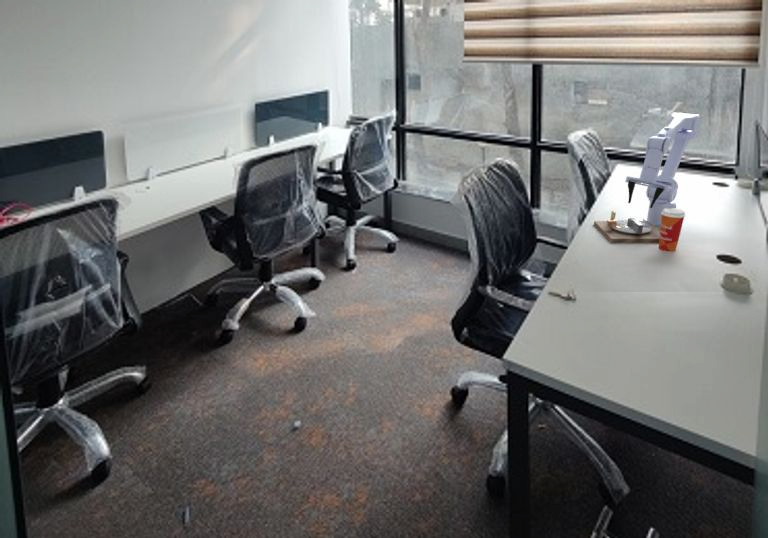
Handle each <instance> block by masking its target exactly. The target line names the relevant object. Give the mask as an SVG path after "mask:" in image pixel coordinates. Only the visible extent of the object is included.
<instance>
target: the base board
mask: <svg viewBox="0 0 768 538" xmlns="http://www.w3.org/2000/svg"><path fill="white" fill-rule="evenodd" d="M638 221H639V222H642V223H646V224H648V225H650V226H651V231H650V232H649V233H646V234H627V233H622V232H618V231H616V230H614V229H612V227H608V226H607V220H602V221H601V220H596V221H595V220H594V221H593V226H594V227H595V228H596V229H597V230H598V231H599V232H600V233H601V234H602V235H603V237H605V238H606V239H607V240H608V241H609V242H610V243H611V244H616V243H618V244H620V243H621V244H625V243H627V244H630V243H633V244H638V243H641V244H642V243H643V244H645V243H646V244H647V243H648V244H649V243H653V244H654V243H655V244H656V243H658V244H659V238H660V229H659V228H657V227H656V225H652V224H651V223H650V222H649V221H644V220H638Z"/></svg>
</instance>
